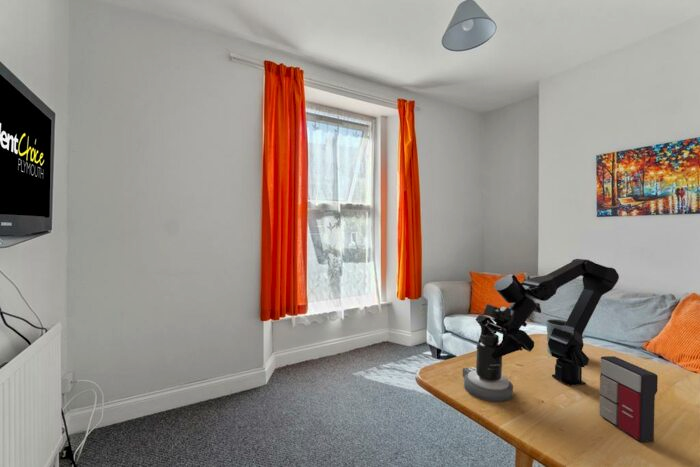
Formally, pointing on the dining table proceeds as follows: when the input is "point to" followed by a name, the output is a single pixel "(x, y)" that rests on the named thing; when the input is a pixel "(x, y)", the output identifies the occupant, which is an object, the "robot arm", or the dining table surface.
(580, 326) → the robot arm
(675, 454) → the dining table surface
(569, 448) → the dining table surface
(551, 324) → the drinking glass
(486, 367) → the supplement bottle
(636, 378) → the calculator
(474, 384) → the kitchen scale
